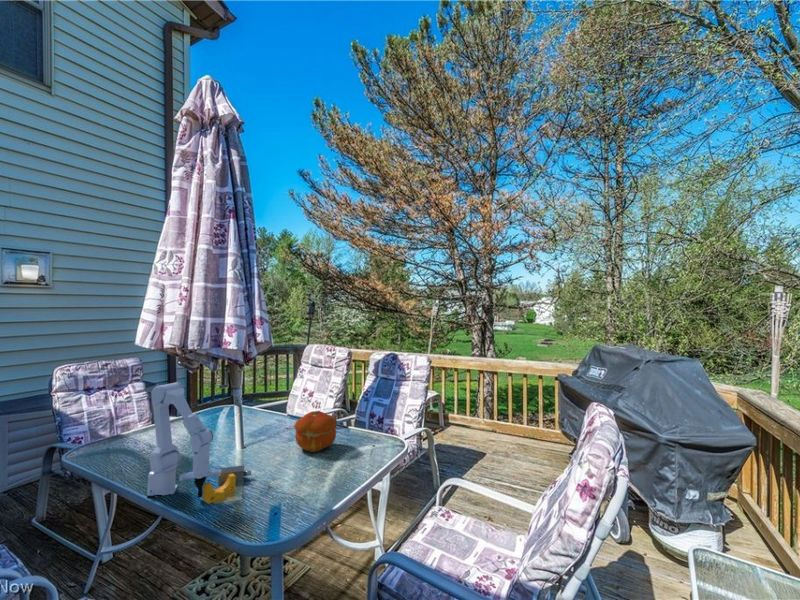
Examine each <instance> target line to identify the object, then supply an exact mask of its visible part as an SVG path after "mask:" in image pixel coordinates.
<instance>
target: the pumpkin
mask: <svg viewBox="0 0 800 600" xmlns="http://www.w3.org/2000/svg"><path fill="white" fill-rule="evenodd" d="M337 426H338V420H337V419H336V417H334V416H333V415H331V414H327V413H326V412H323V411H320V410H314V411H310V412H308V413H306V414H304V416H301V417H300V418H299V419H297V420H296V421H295V423H294V430H295V441H296V444H297V445H298V446H299V448H301V449H303V450H305V451H307V452H311V453H316V451H317V452H319V451H322V450H324V449H326V448H328V447H330V446H332V445H333V443H334V442H335V440H336V436H337V430H336V428H338V427H337Z"/></svg>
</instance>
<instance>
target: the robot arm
mask: <svg viewBox="0 0 800 600" xmlns="http://www.w3.org/2000/svg"><path fill="white" fill-rule="evenodd" d="M150 394H151V395H150V396H151V402H152V408H153V419H154V430H155V440H156V448H155V449H154V450H153V451H152V452H151V454H150V462H149V466H150V470H151V471H149V473H148V476H147V489H146V491H147V495H153V494H155V495H162V496H167V495H168V496H169V494H170V495H174V494H175V492H176V490H177V488H178V486H179V485H178V484H176V468H178V465H179V463H180V462H181V453H180V451H179V447H178V446H177V445H175V444H174V443H173V439H172V428H171V417H170V409H169V406H170V405H173V406H174V407H175V409H176V410H177V411H178V413H179V414H180V415H181V417H182V418H183V421H182V424H183V426H184V428H185V429H186V431H187V433H188V434H189V436H190V439H189V443H190V446H191V450H192V456H193V457H192V471H190V472H185V473H180V474H179V481H178V482H182V481H185V480H194V481H193V482H194V485H195V487H196V488H197V498H203V484H204V483H206V480H207V478H208V477H210V478H211V477H218V476H221V469H220V468H219V469H210V446H211V442H213V440H214V433H213V431H212V429H211V428H208V427H207V426H205V425H204V423H203V422H202V420H201V419H200V417H199V416H198V414H196V413H193V412H192V409H191V408H190V406H189V403H188V401H187V399H186V397H185V388H184V387H183V385H182V383H181V382H179V381H175V382H172V383H166V384H162V385H156V386H155V387H154V388H153V389H152V390H151V392H150ZM150 491H152V492H150ZM147 495H146V496H147Z"/></svg>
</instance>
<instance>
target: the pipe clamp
mask: <svg viewBox="0 0 800 600" xmlns="http://www.w3.org/2000/svg"><path fill="white" fill-rule="evenodd" d="M235 482H236V475H234V474H229V475H228V478H227V480H226V482H225V484H224V485H223V486H222V487H220V488H218V487H217V488H218V489H217V488H213V485H212V483H211V482H209V481H207V482H204V484H203V487H202V488H203V495H202V502H205V503H206V504H208V505H210V504H212V503H214V502H215V501H217V500H220V499H222V498H225V495H226V494H229V493H231V492H234V491H235Z"/></svg>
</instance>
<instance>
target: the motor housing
mask: <svg viewBox="0 0 800 600" xmlns="http://www.w3.org/2000/svg"><path fill="white" fill-rule="evenodd" d="M219 469H221V476H217V481H218V483H217V485H218V486H217V488H216V489H218V488H220V487H222V486H223V485H224V484H225V482H226V480H227V478H228V475H229V474H234V475H236V482H235V491H234V492H231V493H229V494H226V495H225V498H222V499H220V500H217V501H215V502H213V505H215V504H221V503H223V504H224V503H229V502H236V501H242V498H243V491H244V490H243V489H244V480H245V477H246V476H251V475H252V470H245V465H235V466H227V467H226V466H225V467H220V468H219Z"/></svg>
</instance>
